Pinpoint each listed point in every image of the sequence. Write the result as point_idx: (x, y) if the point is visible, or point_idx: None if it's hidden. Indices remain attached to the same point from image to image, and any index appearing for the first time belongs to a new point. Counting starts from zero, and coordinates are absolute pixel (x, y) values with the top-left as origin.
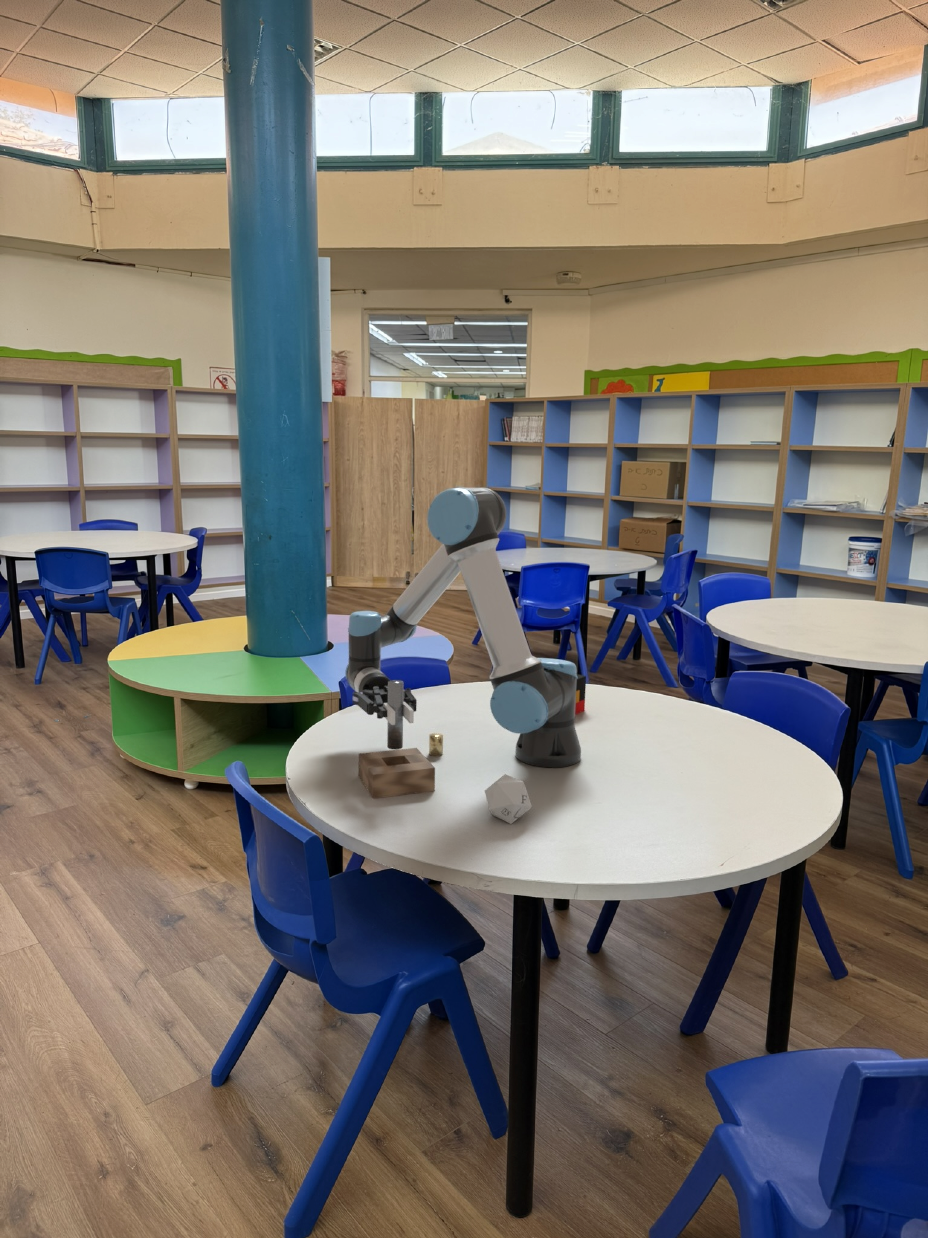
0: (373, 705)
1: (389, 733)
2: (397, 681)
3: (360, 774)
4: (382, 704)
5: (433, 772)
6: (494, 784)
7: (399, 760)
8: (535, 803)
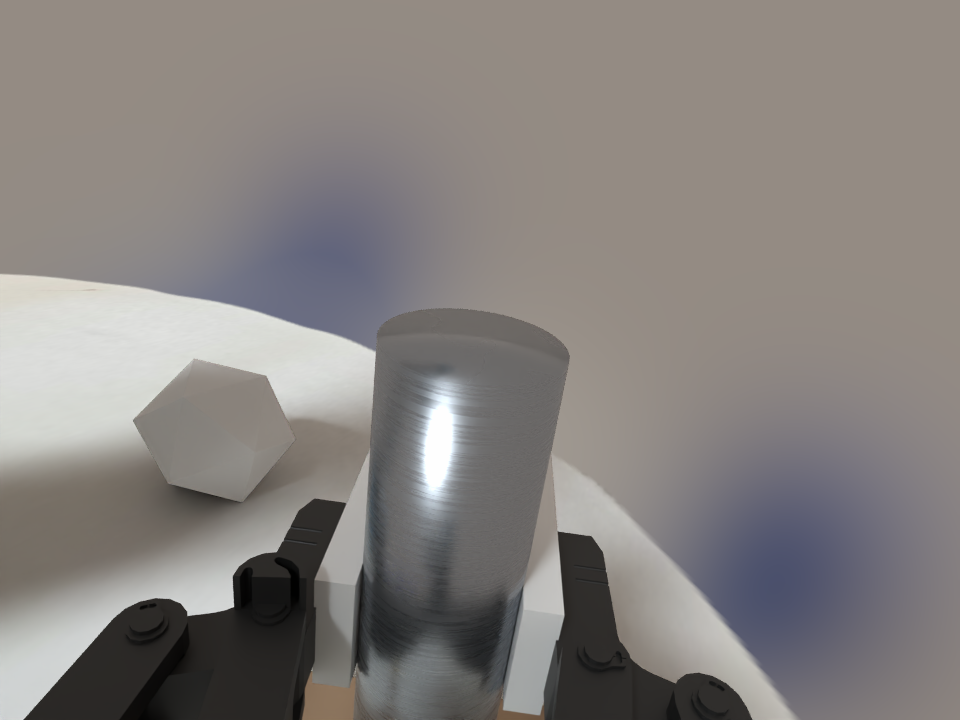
0: (669, 704)
1: None
2: (445, 344)
3: None
4: (569, 639)
5: None
6: (260, 393)
7: None
8: (50, 506)
